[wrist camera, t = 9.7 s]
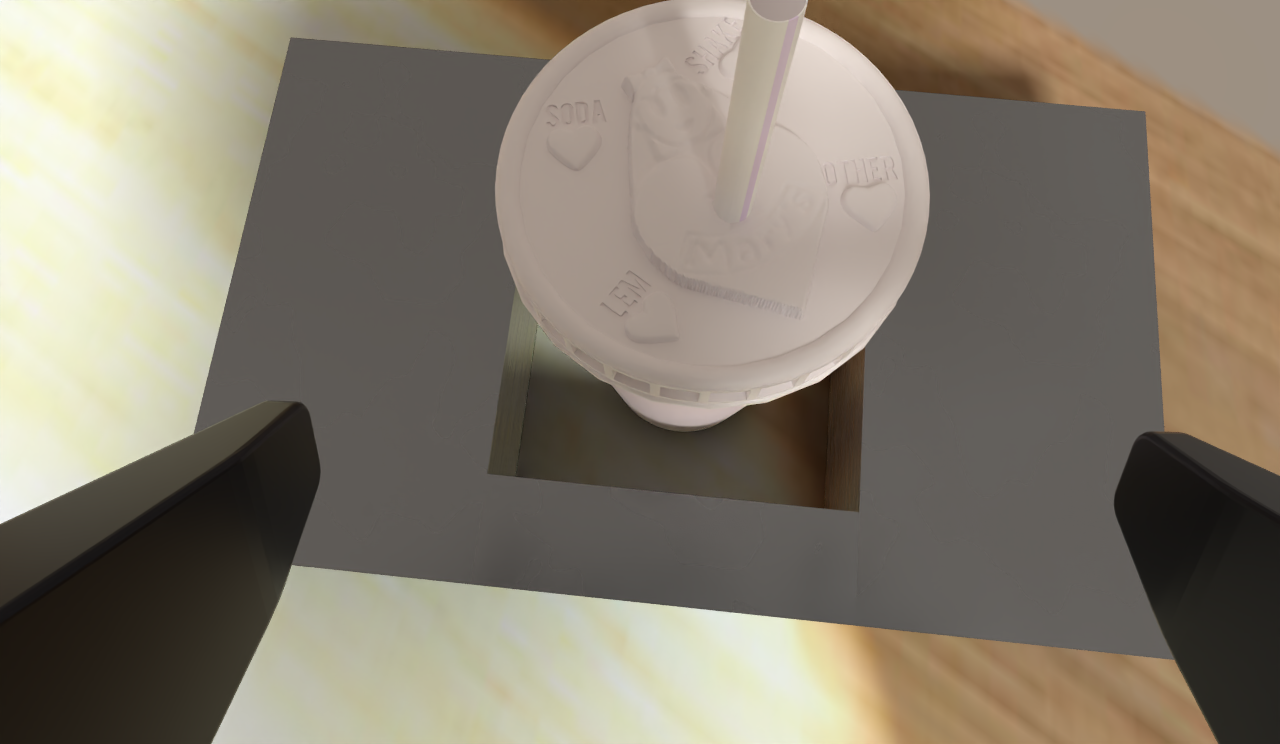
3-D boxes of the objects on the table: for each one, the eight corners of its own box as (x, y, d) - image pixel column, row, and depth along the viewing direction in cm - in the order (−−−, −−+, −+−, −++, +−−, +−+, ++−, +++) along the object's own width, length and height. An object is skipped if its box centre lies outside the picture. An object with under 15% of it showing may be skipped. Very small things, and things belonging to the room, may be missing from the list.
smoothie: (635, 534, 20) (609, 409, 7) (515, 315, 22) (293, -150, 8) (857, 406, 21) (1242, 64, 7) (727, 204, 22) (848, -391, 9)
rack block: (1084, 648, 19) (1177, 659, 16) (246, 558, 20) (165, 551, 17) (1069, 184, 22) (1144, 111, 19) (342, 118, 23) (290, 37, 20)
